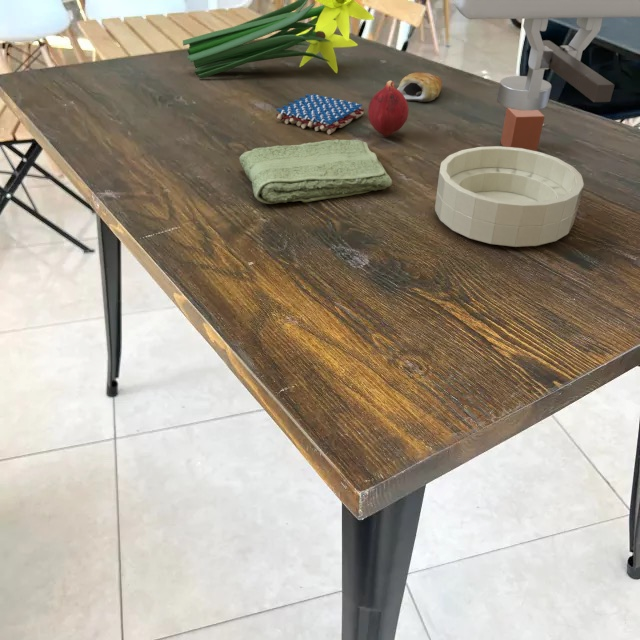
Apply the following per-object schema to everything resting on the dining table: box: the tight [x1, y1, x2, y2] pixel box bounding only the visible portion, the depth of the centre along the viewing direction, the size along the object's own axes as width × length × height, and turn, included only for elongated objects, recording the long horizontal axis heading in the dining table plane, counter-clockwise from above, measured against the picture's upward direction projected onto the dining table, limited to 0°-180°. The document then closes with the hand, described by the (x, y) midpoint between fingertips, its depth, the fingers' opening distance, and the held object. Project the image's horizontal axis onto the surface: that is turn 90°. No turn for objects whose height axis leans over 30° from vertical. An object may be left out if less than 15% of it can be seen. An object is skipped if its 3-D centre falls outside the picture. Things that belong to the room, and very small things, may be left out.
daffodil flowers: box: [182, 0, 375, 79], centre depth 117 cm, size 17×15×35 cm
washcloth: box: [238, 138, 393, 205], centre depth 83 cm, size 13×18×3 cm
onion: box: [367, 80, 410, 138], centre depth 93 cm, size 6×6×8 cm
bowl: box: [434, 145, 585, 248], centre depth 74 cm, size 16×16×6 cm
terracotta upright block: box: [500, 107, 545, 152], centre depth 91 cm, size 4×4×5 cm
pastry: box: [396, 71, 443, 103], centre depth 110 cm, size 9×7×4 cm
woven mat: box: [275, 93, 365, 135], centre depth 101 cm, size 10×11×2 cm
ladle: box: [496, 39, 615, 111], centre depth 61 cm, size 19×5×7 cm, turn 5°
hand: (552, 67), depth 61 cm, fingers closed on ladle
